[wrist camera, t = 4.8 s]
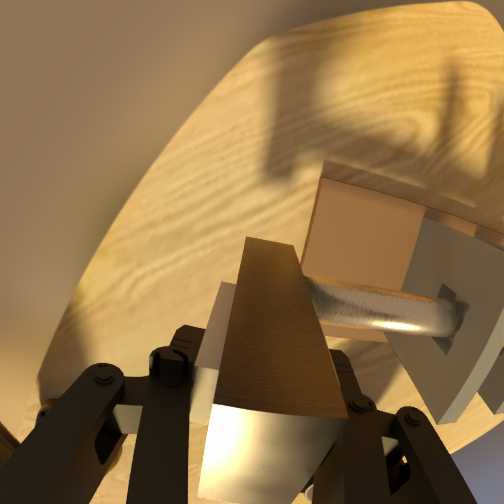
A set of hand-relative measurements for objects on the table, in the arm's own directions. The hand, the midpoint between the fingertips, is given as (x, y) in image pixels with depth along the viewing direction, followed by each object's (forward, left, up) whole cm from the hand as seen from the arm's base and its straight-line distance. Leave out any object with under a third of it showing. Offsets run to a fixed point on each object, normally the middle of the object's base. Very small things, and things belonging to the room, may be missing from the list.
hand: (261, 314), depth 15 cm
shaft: (+12, 0, -5) cm, 13 cm away
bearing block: (+17, 0, -12) cm, 21 cm away
